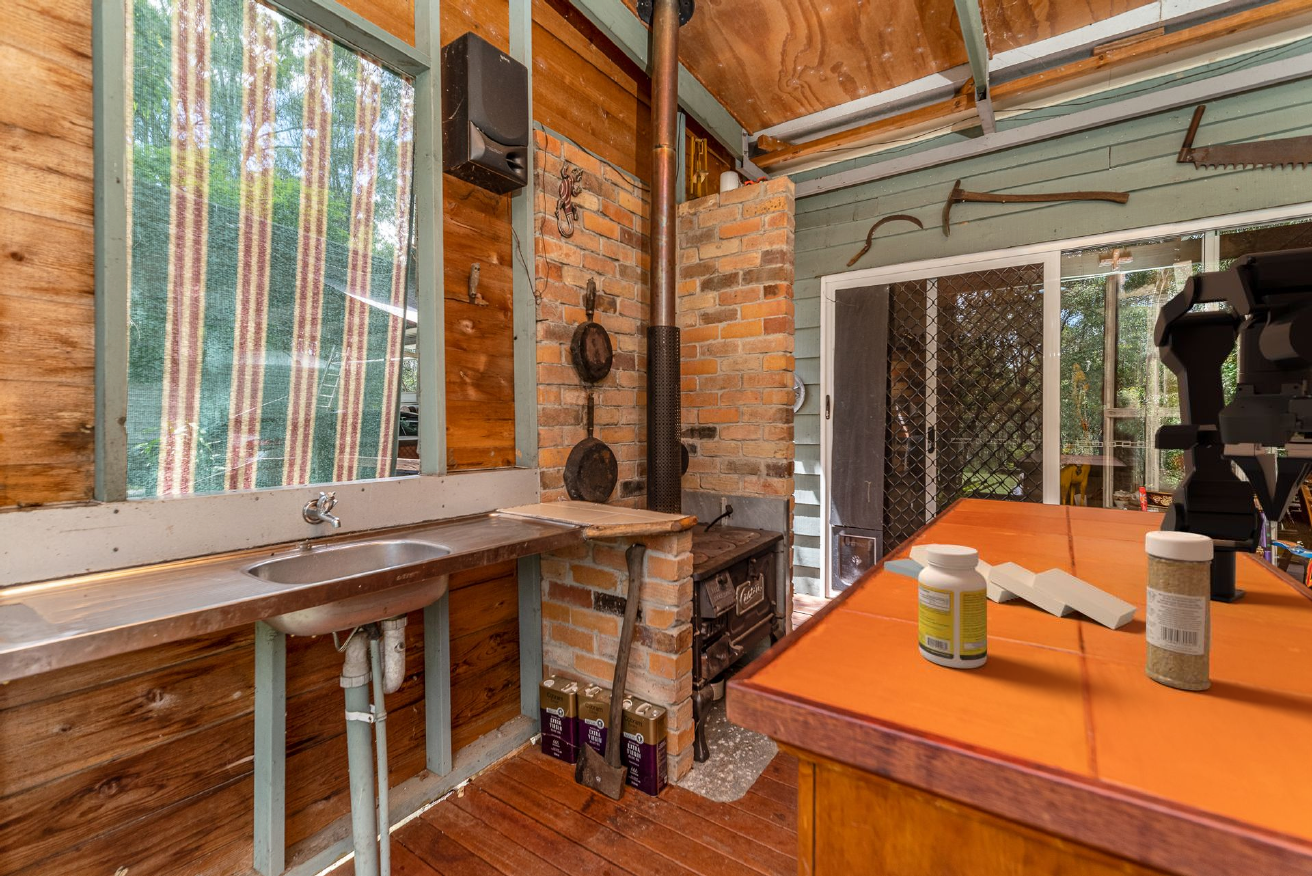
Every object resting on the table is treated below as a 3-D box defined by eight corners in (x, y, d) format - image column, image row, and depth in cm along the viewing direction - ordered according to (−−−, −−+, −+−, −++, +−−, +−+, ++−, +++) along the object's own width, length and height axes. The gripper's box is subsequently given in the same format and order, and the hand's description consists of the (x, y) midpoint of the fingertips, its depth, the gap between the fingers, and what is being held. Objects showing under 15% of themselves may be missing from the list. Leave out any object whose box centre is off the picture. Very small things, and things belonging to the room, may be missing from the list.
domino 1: (932, 587, 84) (884, 573, 92) (956, 583, 86) (907, 569, 94) (932, 575, 84) (884, 562, 92) (956, 571, 86) (907, 558, 94)
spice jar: (1217, 683, 52) (1220, 535, 52) (1201, 697, 50) (1204, 541, 49) (1153, 666, 56) (1155, 527, 56) (1135, 678, 54) (1137, 533, 53)
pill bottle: (980, 649, 61) (980, 544, 60) (993, 674, 55) (994, 558, 55) (915, 642, 63) (915, 540, 62) (921, 665, 57) (921, 553, 57)
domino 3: (997, 603, 76) (939, 566, 83) (1021, 597, 78) (962, 562, 85) (1001, 591, 75) (943, 555, 82) (1025, 585, 77) (966, 551, 85)
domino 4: (1059, 617, 70) (986, 579, 77) (1078, 609, 73) (1006, 573, 80) (1065, 604, 70) (991, 567, 77) (1083, 596, 72) (1010, 561, 79)
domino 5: (1113, 629, 66) (1032, 586, 73) (1131, 621, 68) (1051, 579, 75) (1120, 616, 65) (1037, 573, 72) (1137, 608, 68) (1056, 567, 75)
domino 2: (957, 590, 81) (909, 556, 89) (982, 586, 83) (933, 553, 91) (960, 579, 80) (912, 546, 88) (986, 575, 82) (936, 543, 90)
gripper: (1134, 376, 65) (1132, 516, 65) (1406, 362, 49) (1400, 547, 49) (1175, 378, 70) (1173, 506, 71) (1431, 365, 54) (1425, 532, 55)
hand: (1274, 520), depth 61 cm, fingers closed
